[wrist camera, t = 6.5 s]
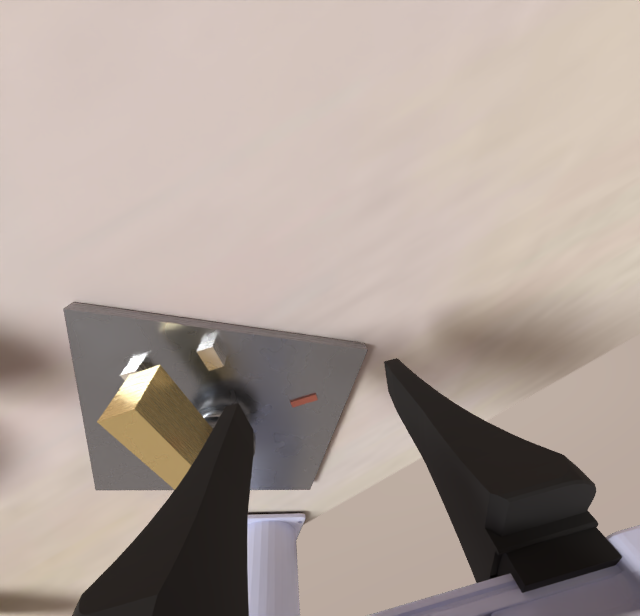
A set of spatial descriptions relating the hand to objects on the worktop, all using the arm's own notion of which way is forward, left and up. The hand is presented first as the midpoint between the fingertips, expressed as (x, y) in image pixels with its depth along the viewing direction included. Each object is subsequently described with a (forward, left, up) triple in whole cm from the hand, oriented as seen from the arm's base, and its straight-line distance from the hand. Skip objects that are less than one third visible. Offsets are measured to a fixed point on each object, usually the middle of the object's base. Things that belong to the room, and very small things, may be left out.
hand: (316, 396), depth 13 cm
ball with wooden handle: (-7, +6, -4) cm, 10 cm away
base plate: (-9, +4, -6) cm, 12 cm away
